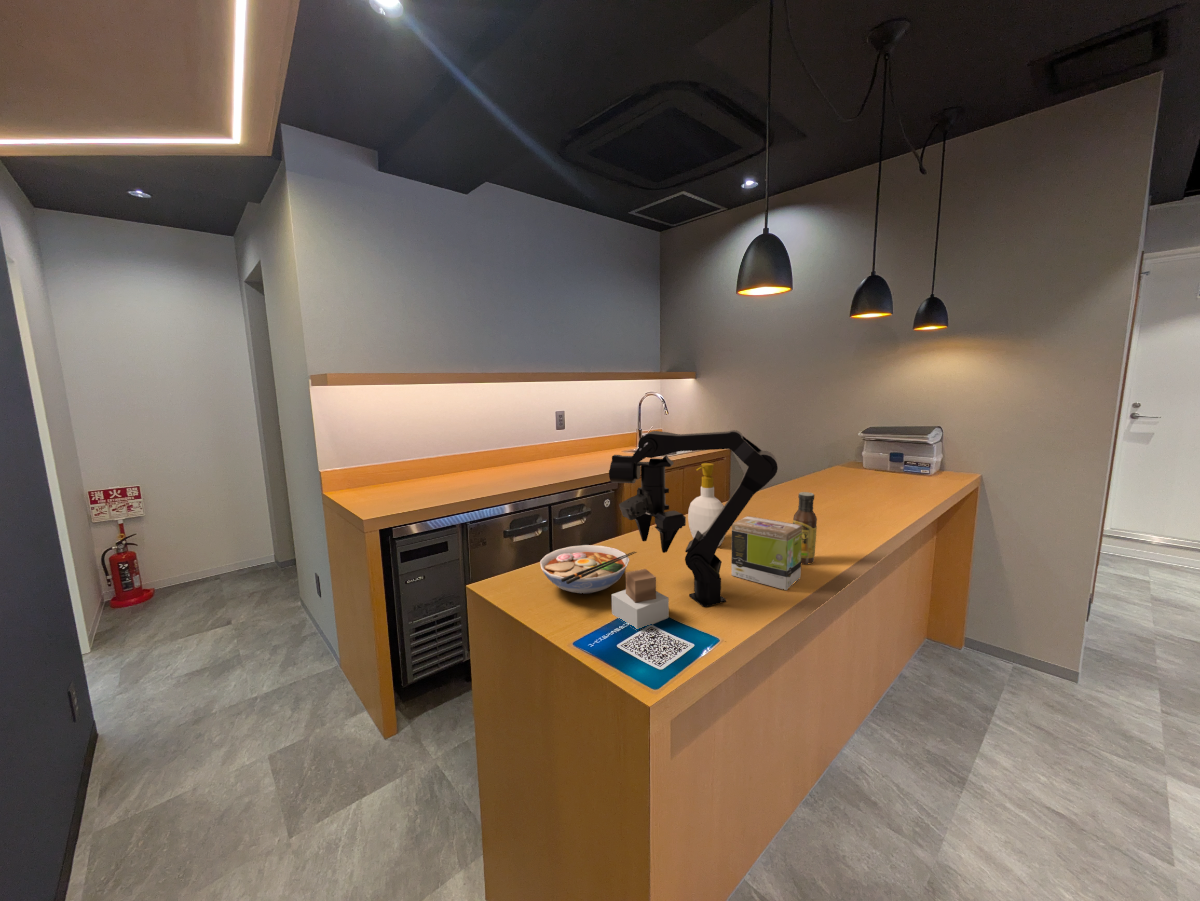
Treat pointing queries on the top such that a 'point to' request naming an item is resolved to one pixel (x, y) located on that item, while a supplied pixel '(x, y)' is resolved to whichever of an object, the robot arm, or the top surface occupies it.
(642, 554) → the top surface
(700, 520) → the soap bottle
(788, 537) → the tea box
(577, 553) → the ramen bowl
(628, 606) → the light grey block
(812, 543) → the sauce bottle
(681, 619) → the top surface
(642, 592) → the walnut cube
